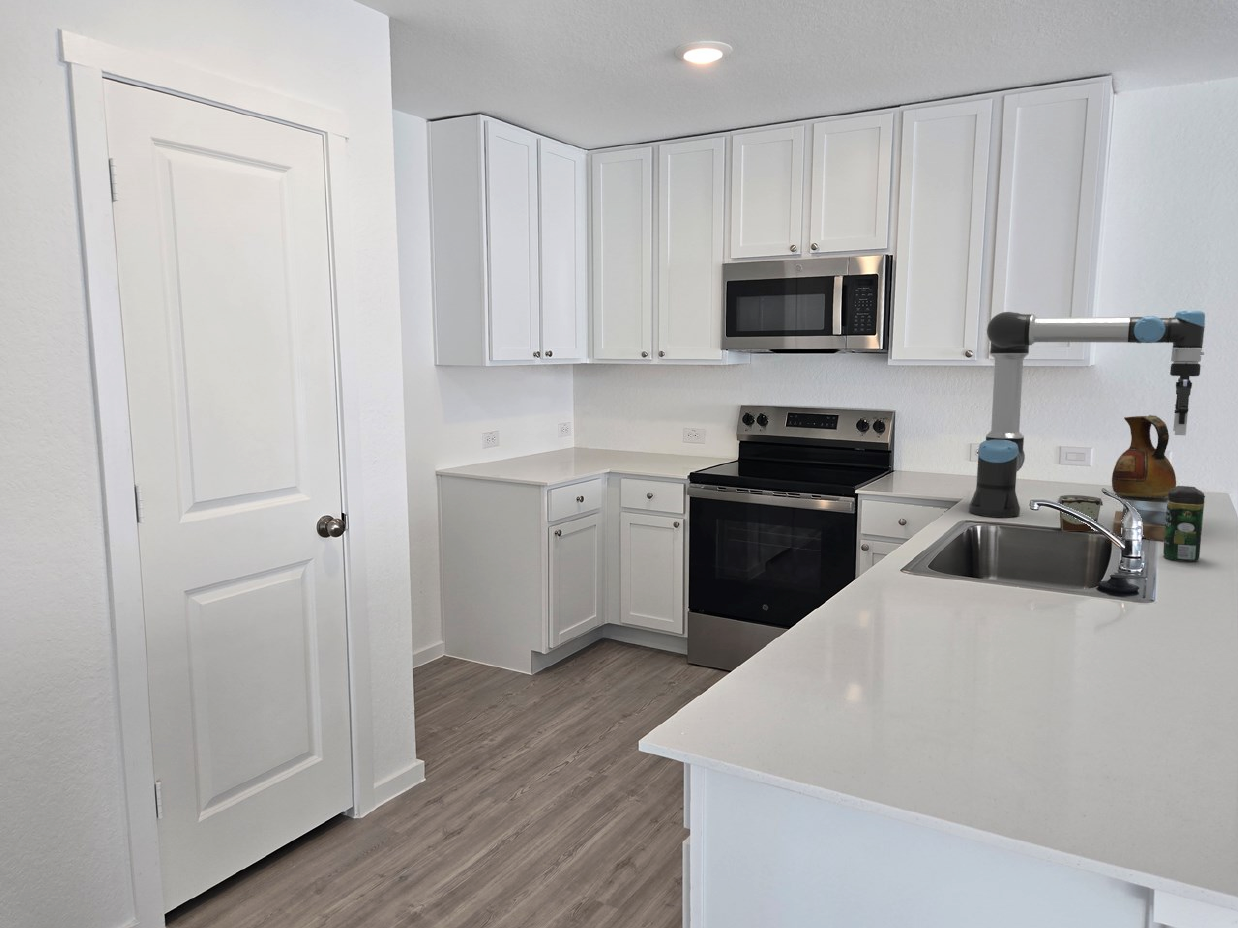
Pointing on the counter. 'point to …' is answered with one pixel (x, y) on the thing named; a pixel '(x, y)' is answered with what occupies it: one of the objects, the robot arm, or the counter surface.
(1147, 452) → the ceramic pitcher
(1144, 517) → the pedestal
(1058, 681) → the counter surface
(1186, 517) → the coffee jar
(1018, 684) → the counter surface
